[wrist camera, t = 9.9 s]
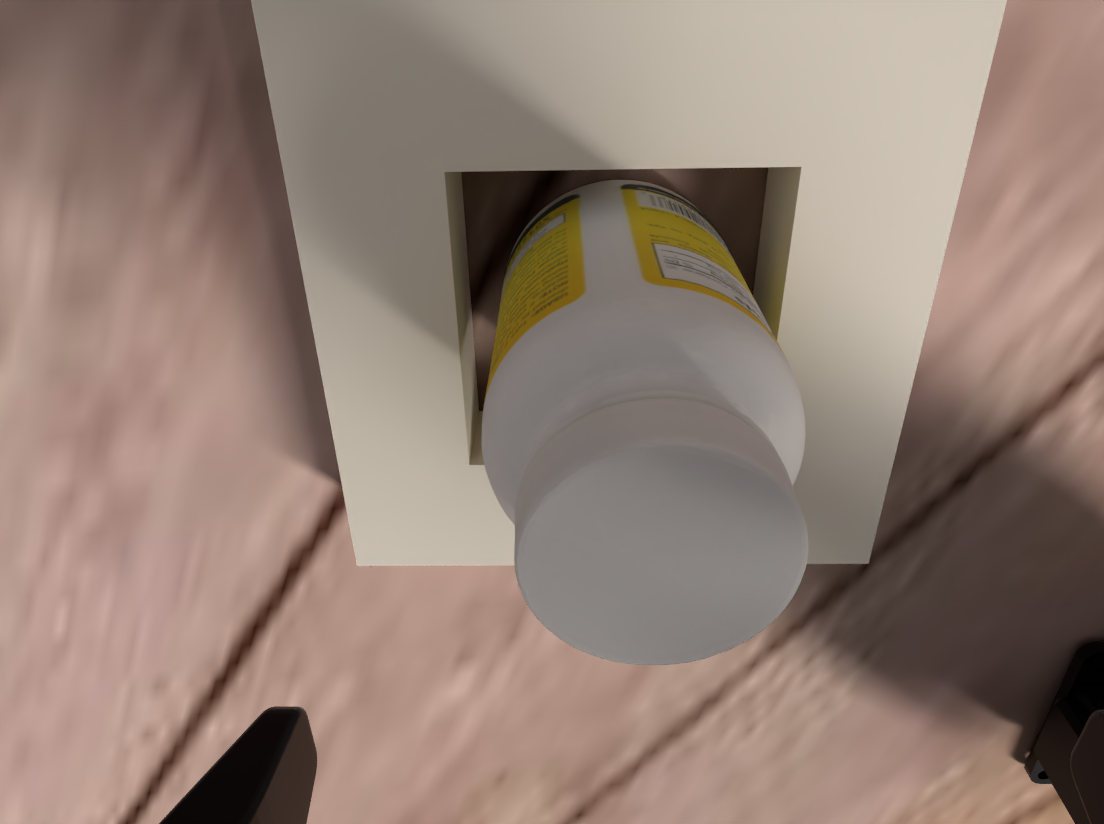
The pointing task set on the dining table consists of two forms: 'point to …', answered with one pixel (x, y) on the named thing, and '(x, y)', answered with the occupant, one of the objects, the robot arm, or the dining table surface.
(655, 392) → the supplement bottle
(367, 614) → the dining table surface
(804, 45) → the hole plate
